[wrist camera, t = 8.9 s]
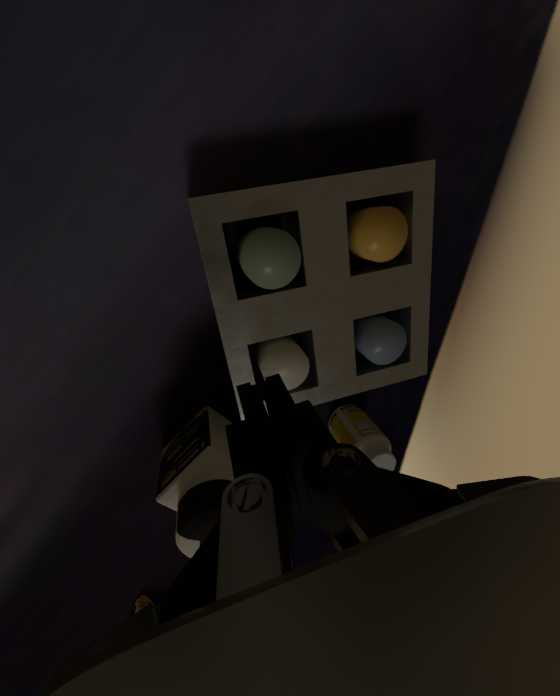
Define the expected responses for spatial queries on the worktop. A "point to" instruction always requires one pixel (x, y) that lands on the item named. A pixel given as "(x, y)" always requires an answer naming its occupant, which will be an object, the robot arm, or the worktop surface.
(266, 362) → the ivory button
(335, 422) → the supplement bottle
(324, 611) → the robot arm
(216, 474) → the medicine bottle
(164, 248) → the worktop surface
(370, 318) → the slate button
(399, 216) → the amber rounded lump
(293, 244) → the sage button
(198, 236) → the panel
